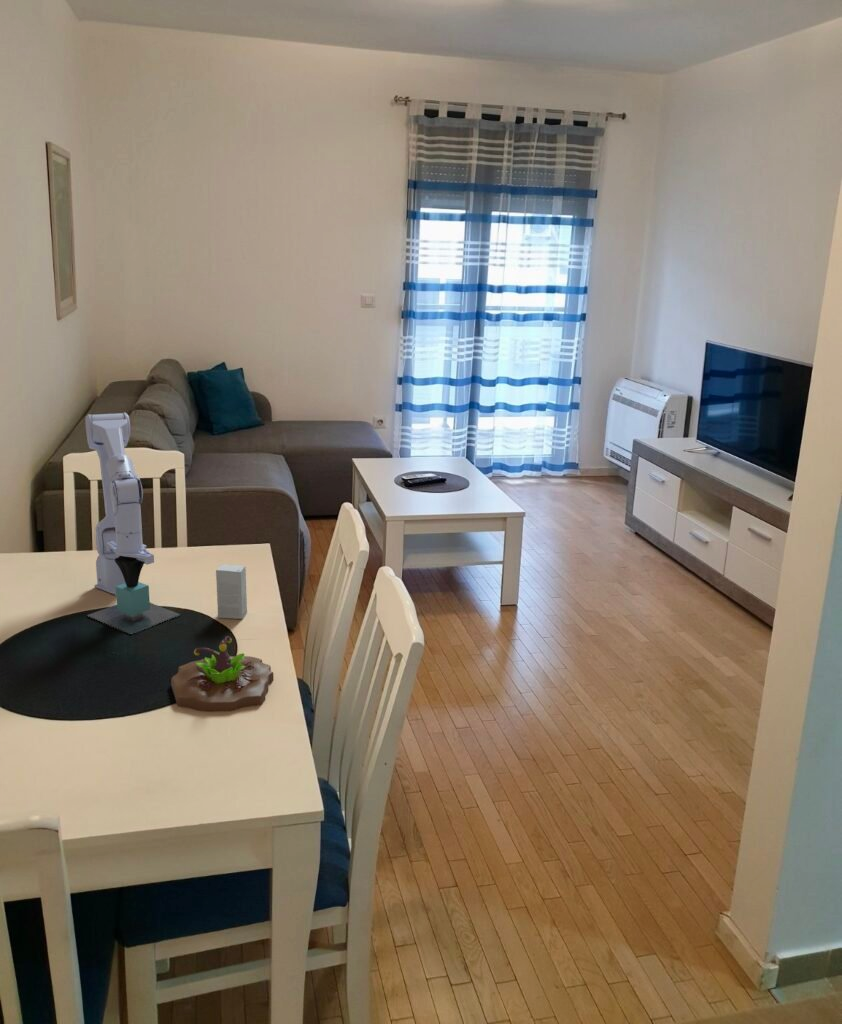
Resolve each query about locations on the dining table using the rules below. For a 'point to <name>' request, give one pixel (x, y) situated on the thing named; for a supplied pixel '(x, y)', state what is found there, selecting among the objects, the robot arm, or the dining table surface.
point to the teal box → (132, 599)
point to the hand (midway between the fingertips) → (132, 586)
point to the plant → (221, 681)
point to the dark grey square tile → (133, 618)
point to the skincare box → (231, 591)
